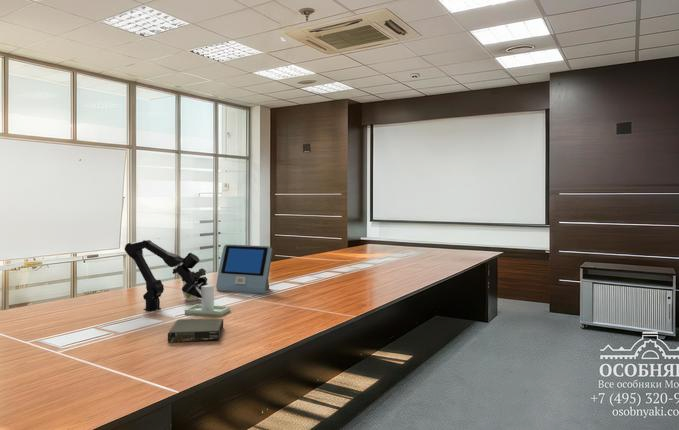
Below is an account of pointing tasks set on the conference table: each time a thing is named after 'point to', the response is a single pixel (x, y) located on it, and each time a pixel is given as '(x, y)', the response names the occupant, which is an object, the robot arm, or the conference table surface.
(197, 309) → the tray
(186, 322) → the network switch
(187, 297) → the pitcher
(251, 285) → the touchscreen device
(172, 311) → the conference table surface
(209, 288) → the white rounded capsule
